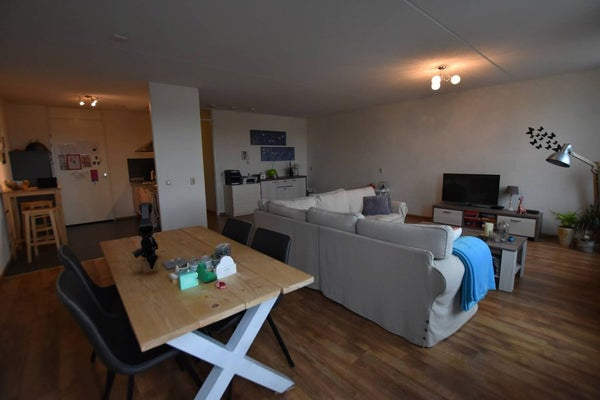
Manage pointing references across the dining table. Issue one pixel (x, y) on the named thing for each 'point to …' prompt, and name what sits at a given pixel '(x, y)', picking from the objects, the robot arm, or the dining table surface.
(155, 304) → the dining table surface
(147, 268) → the housing
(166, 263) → the base plate
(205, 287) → the dining table surface
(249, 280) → the dining table surface
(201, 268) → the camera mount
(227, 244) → the light bulb box
